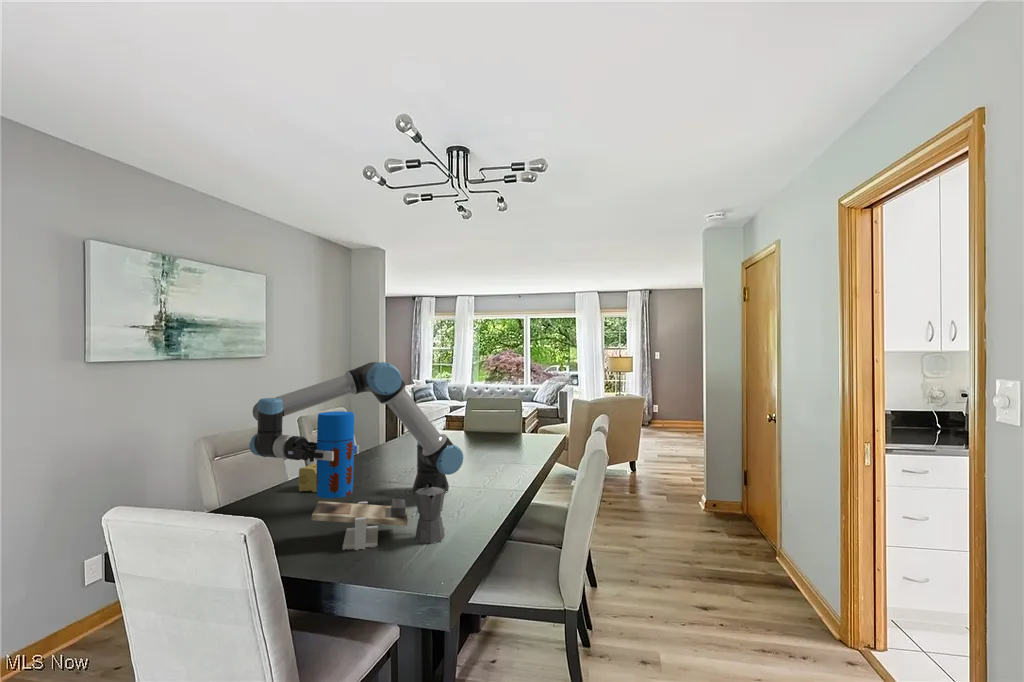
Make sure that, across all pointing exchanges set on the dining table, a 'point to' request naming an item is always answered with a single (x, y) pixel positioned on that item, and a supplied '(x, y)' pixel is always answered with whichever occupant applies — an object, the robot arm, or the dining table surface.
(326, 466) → the thermos
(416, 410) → the robot arm
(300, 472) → the cheese
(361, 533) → the fulcrum
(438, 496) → the coffeepot
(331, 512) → the beam
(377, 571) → the dining table surface
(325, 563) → the dining table surface
